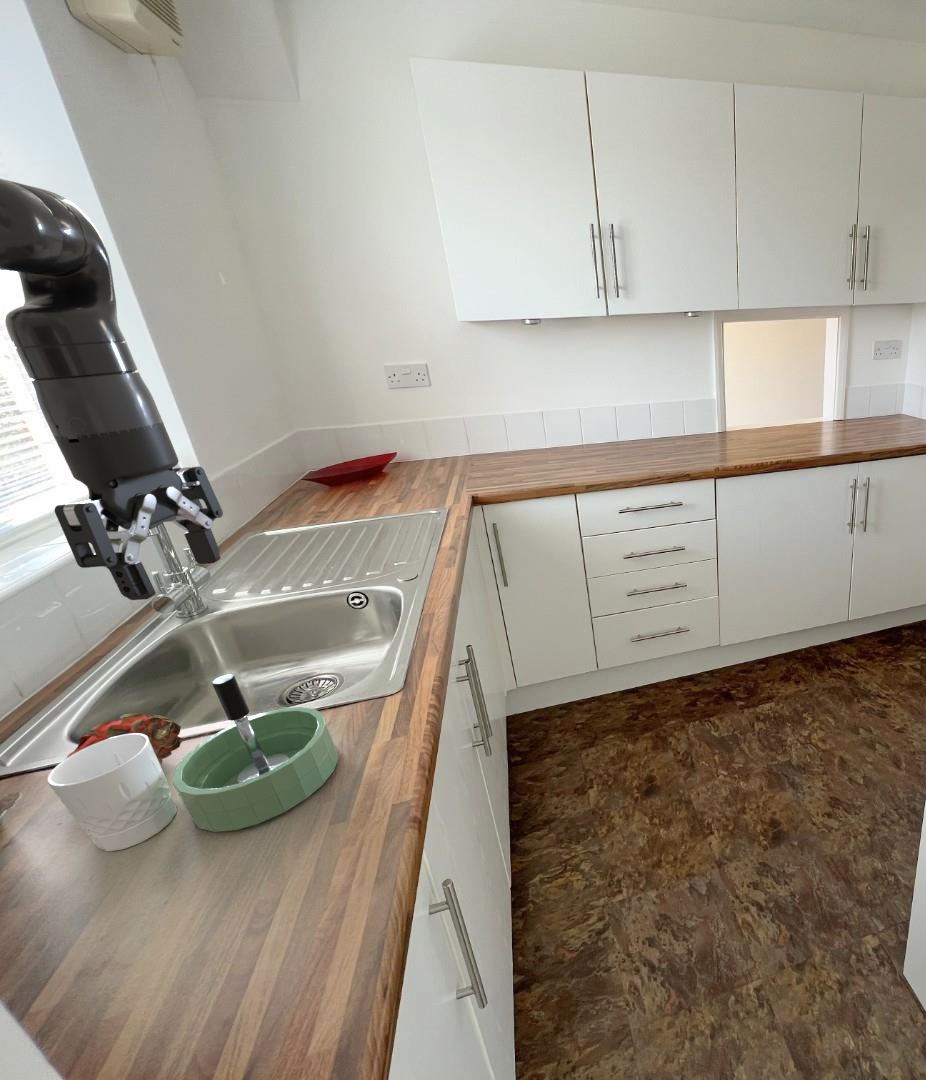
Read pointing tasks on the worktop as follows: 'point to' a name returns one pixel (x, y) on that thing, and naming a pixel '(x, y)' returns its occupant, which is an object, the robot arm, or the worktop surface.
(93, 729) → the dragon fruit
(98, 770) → the white cup
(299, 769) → the bowl
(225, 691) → the weighted base post
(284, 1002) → the worktop surface
